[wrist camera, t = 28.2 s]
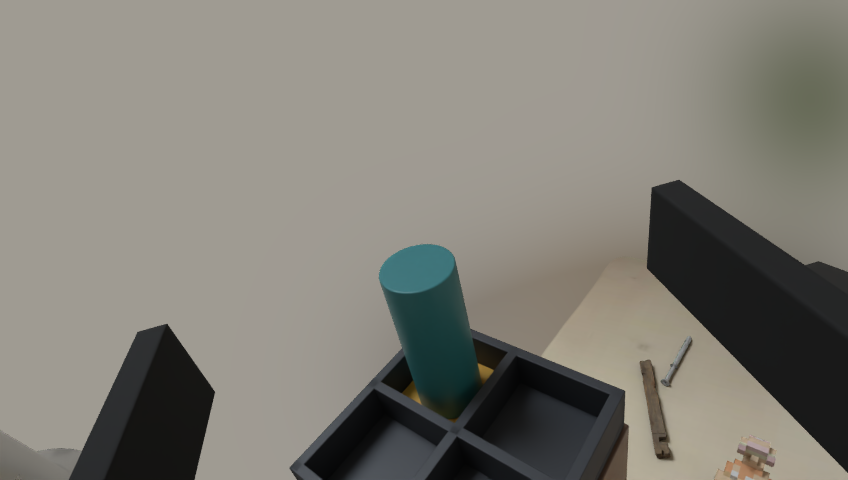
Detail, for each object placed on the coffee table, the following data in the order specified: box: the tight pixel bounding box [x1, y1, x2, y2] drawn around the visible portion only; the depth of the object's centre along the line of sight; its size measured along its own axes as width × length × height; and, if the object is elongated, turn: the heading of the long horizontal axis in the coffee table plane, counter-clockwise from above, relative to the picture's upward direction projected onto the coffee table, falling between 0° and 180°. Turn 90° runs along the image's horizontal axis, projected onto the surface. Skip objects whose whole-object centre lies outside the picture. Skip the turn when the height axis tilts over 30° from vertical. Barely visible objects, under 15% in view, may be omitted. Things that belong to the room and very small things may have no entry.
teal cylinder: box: [379, 244, 483, 419], centre depth 27 cm, size 4×4×10 cm
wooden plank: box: [640, 360, 670, 458], centre depth 56 cm, size 13×1×1 cm, turn 168°
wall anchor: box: [661, 336, 692, 386], centre depth 60 cm, size 1×9×1 cm
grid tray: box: [290, 329, 625, 480], centre depth 26 cm, size 13×13×3 cm
